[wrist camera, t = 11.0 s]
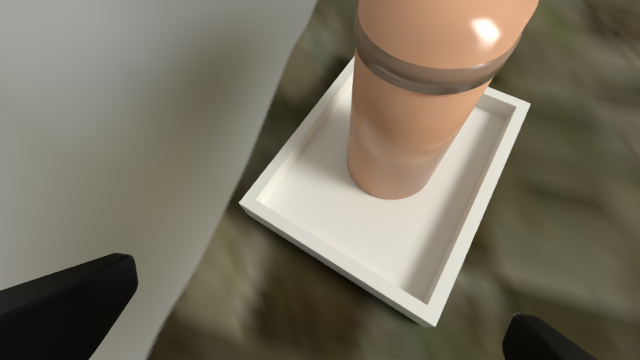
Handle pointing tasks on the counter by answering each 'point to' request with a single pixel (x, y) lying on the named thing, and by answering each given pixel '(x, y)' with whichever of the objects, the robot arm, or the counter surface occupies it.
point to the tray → (386, 202)
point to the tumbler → (421, 82)
